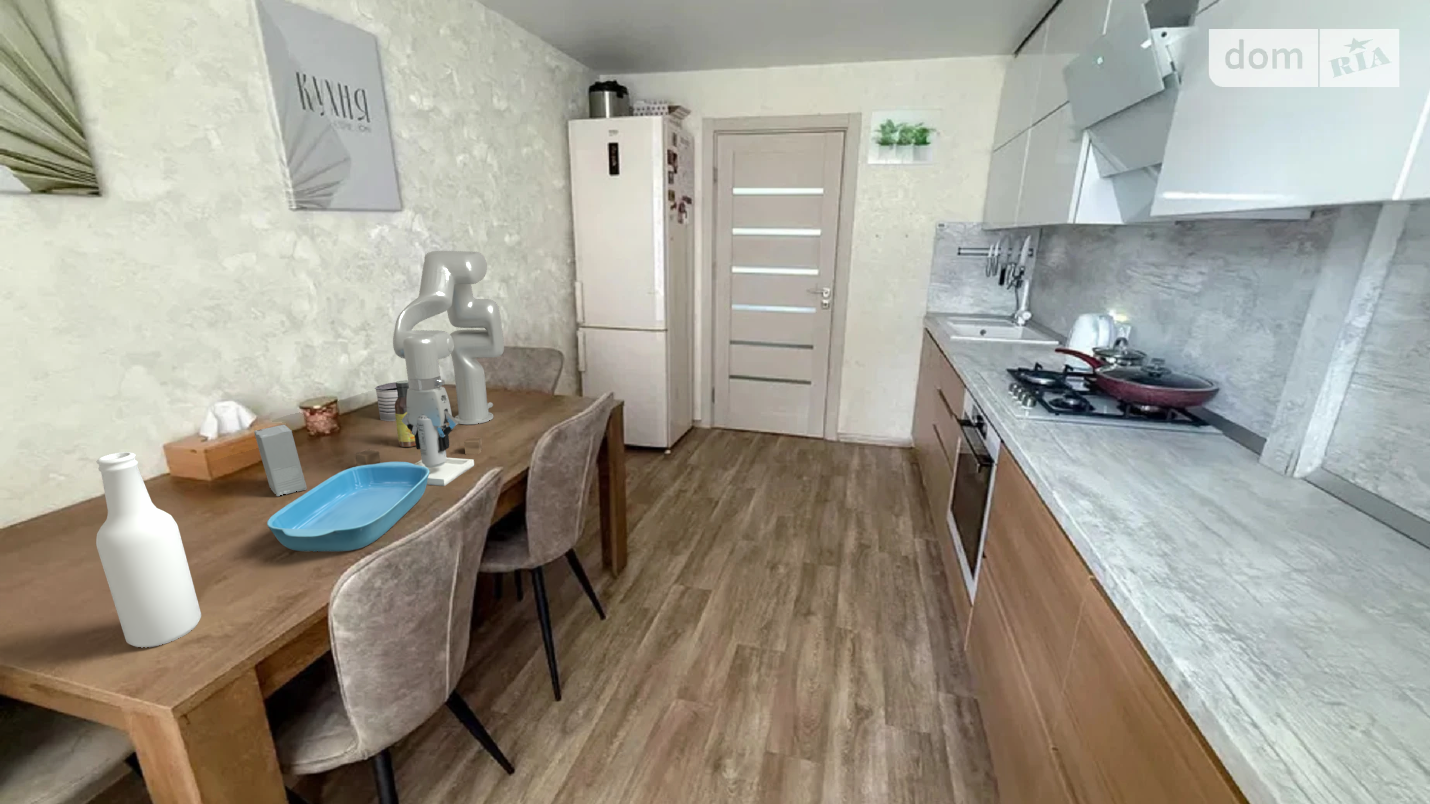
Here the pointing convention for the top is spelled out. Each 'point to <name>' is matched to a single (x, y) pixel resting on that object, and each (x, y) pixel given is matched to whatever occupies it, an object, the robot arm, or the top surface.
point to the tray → (447, 470)
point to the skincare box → (280, 460)
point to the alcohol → (143, 559)
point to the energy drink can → (429, 443)
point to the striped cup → (387, 401)
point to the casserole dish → (350, 507)
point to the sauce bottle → (400, 411)
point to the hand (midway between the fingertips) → (433, 448)
